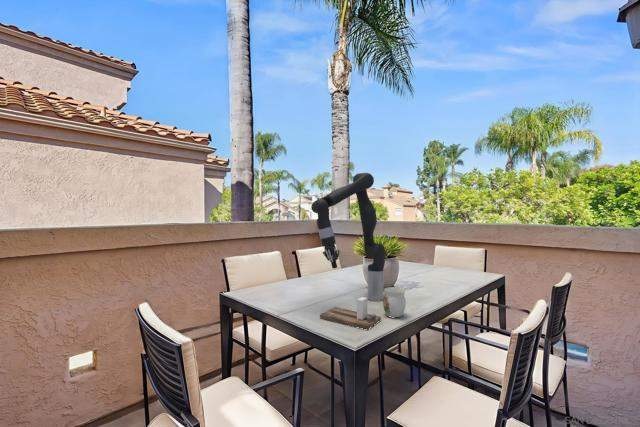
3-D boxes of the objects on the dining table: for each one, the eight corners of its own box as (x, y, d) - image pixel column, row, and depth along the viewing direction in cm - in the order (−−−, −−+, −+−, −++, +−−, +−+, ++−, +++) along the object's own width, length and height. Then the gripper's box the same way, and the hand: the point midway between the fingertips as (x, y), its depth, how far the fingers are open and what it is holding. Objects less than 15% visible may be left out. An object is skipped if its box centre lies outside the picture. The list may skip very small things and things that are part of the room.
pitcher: (394, 308, 168) (394, 283, 167) (412, 320, 150) (412, 292, 150) (375, 310, 165) (375, 284, 164) (392, 322, 147) (392, 293, 147)
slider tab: (361, 315, 150) (361, 296, 150) (367, 316, 149) (367, 298, 148) (356, 318, 146) (356, 299, 146) (362, 319, 144) (362, 300, 144)
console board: (334, 310, 164) (334, 303, 164) (380, 320, 150) (380, 312, 149) (319, 318, 153) (319, 310, 153) (367, 330, 138) (367, 321, 138)
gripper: (339, 233, 162) (347, 266, 161) (325, 235, 173) (333, 266, 172) (328, 237, 157) (336, 270, 157) (314, 239, 168) (322, 270, 168)
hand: (334, 268), depth 165 cm, fingers closed
